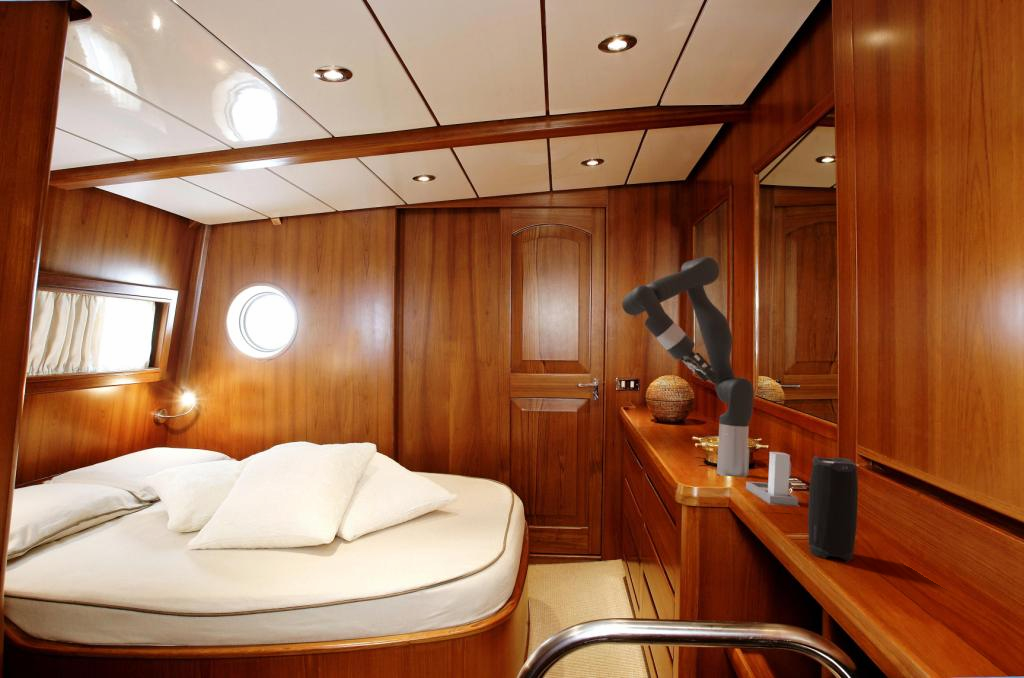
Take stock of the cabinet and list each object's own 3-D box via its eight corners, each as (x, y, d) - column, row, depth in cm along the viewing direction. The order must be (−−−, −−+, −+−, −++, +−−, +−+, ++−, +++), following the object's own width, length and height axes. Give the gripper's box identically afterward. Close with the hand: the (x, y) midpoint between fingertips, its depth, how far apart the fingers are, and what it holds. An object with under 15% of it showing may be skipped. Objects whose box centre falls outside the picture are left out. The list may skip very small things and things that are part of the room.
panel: (770, 492, 164) (771, 482, 164) (800, 510, 146) (800, 498, 146) (743, 490, 164) (744, 480, 164) (769, 508, 146) (770, 496, 146)
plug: (784, 499, 152) (786, 452, 152) (790, 503, 148) (792, 455, 149) (767, 498, 152) (769, 451, 153) (773, 502, 149) (775, 454, 149)
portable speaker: (839, 548, 117) (844, 456, 117) (864, 565, 107) (869, 465, 108) (798, 545, 117) (802, 453, 118) (819, 561, 108) (824, 462, 108)
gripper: (691, 331, 158) (729, 373, 158) (677, 333, 172) (712, 371, 172) (672, 349, 158) (710, 390, 158) (660, 349, 173) (695, 387, 172)
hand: (711, 380), depth 165 cm, fingers open, 8 cm apart
